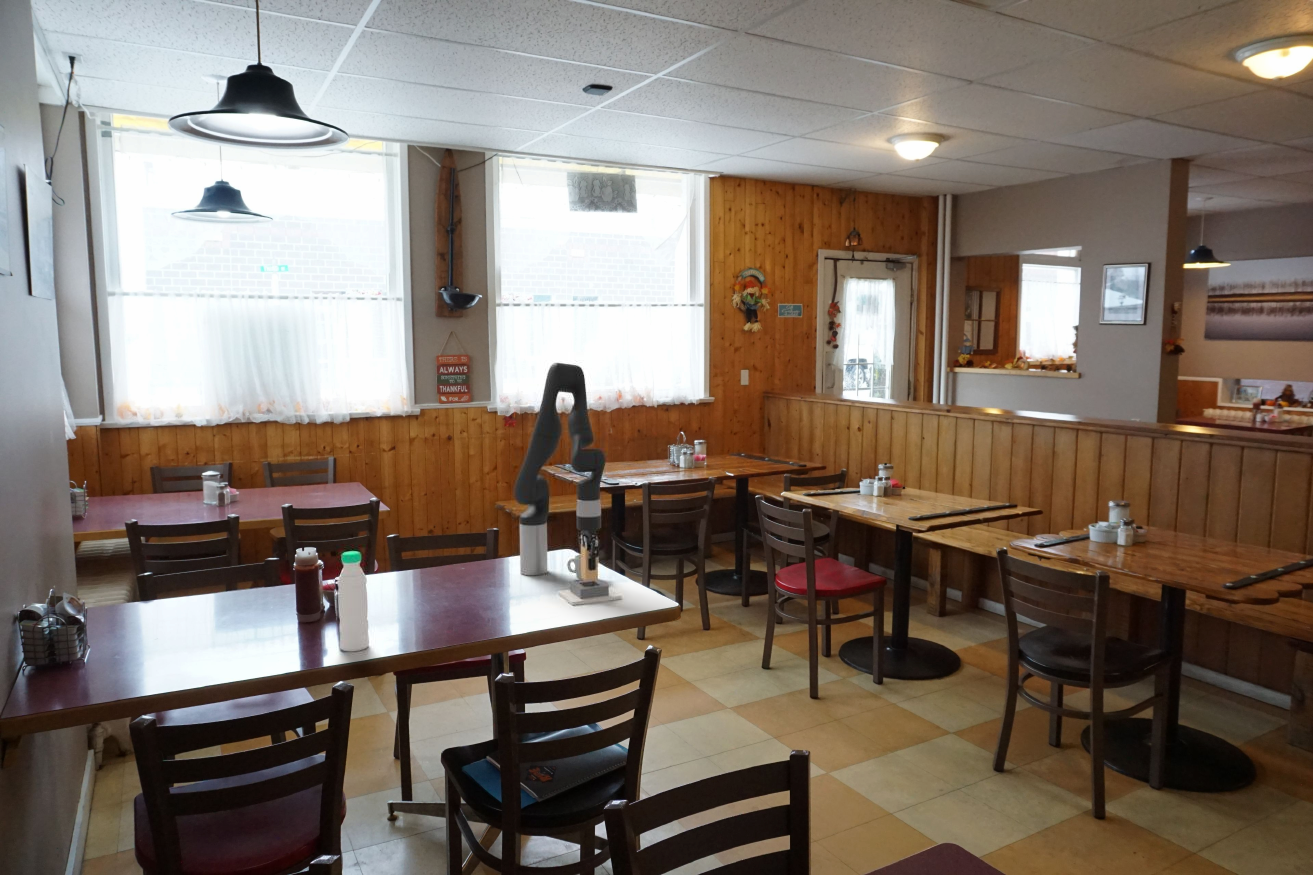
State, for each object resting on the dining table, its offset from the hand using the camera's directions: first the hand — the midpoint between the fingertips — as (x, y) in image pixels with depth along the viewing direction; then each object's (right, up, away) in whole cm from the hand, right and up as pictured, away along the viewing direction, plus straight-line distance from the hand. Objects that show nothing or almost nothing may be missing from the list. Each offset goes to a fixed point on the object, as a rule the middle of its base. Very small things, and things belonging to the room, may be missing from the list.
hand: (589, 567), depth 268 cm
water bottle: (-57, -14, -45) cm, 74 cm away
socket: (0, -9, +1) cm, 9 cm away
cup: (-4, -7, +21) cm, 22 cm away
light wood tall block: (0, -3, 0) cm, 3 cm away
